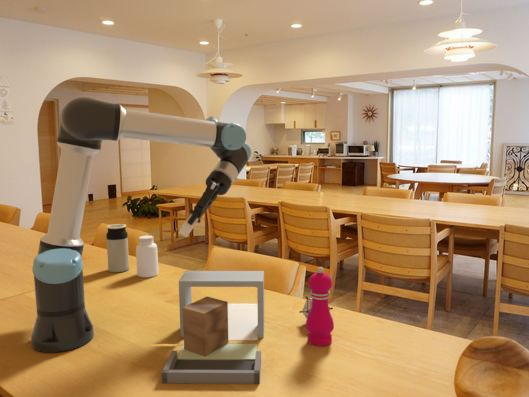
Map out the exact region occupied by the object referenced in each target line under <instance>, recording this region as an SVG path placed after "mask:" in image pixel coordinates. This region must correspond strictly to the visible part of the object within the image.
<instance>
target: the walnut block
mask: <svg viewBox="0 0 529 397" xmlns="http://www.w3.org/2000/svg"><path fill="white" fill-rule="evenodd" d="M183 331H184V337H183V344H184V349H185V350H187V351H190V352H193V353H196V354H199V355H202V356H204V357H206V356H208V355H209V354H211V353H212V352H214V351H216V350H217V349H219V348H220V347H222V346H224V345H225V344H229V340H228V301H226V300H221V299H218V298H215V297H211V296H205V297H202V298H200V299H199V300H198V299H197V300H196V301H194V302H192V303H191V304H189V305H187V306H185V307H183Z"/></svg>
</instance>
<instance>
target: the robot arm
mask: <svg viewBox="0 0 529 397" xmlns="http://www.w3.org/2000/svg"><path fill="white" fill-rule="evenodd" d="M58 127H59V128H58V132H57V139H56V144H57V145H58V147H59V149H60V150H61V151H60V156H59V161H58V162H59V163H58V168H57V169H58V170H57V176H56V180H55V187H54V191H53V199H52V204H51V210H50V216H49V222H48V228H47V233H45V234H44V235H43V236H41V237H40V240H39V244H38V245H39V246H38V250H37V255H36V256H35V257H34V258H33V260H32V261H33V263H32V274H33V279H34V292H35V305H36V306H35V308H36V318H35V322H34V324H33V325H34V327H33V329H32V334H31V339H30V340H31V347H32V349H34V350H35V349H36V350H35V351H37V350H39V351H38V352H40V351H42V352H41V353H61V352H60V351H62V352H66V350H67V351H71V350H75V349H77V347H78V348H79V347H82V346H84V345H86V344H88V343H89V342H91V340H93V338H94V336H95V332H94V331H95V330H94V324H93V323H92V321H91V318H90V316H89V314H88V311H87V310H86V302H85V287H84V285H85V284H84V272H83V270H84V269H83V268H84V262H83V251H84V245H85V242H84V241H83V239H82V238H81V230H82V225H83V219H84V212H85V209H86V208H85V206H86V202H87V196H88V195H87V194H88V190H89V185H90V179H91V178H90V177H91V173H92V168H93V167H92V166H93V161H94V156H95V155H96V154H97V153H99V152H101V148H102V142H103V141H113V142H115V141H116V142H117V141H119V140H121V139H122V138H124V139H131V140H139V141H140V140H141V141H149V142H158V143H160V142H161V143H167V144H168V143H169V144H176V145H177V144H178V145H187V146H195V147H206V148H209V149H210V150H211V151H212V152H213V153H214V154H215V155H216V157H217V158H219V161H218V162H217V164H216V165H215V166H214V168H213V169H212V170H211V172H210V173H209V174H208V176H207V177H206V179H205V186H206V188H205V190H204V192H203V193H202V194H201V197H200V198H199V199H198V201H197V203H196V204H195V206H194V207H193V209H190V210H189V213H190V214H189V215H188V217H187V218H186V220H185V221H184V223H183V224H182V226H181V227H180V228H179V230H178V233H179V234H180V235H182V236H183V237H184V238H188V236H190V233H191V232H192V230H193V229H194V227H195V225H197V223H198V224H200V222H201V219H202V217H203V216H204V214H205V213H206V212H207V211H208V210H209V208H211V205H212V204H213V203H214V202H215V201H216V200H217V198H218V196H224V195H226V194H227V193H228V192H229V190H230V189H231V187H232V185H233V184H234V182H235V181H238V179H239V178H238V176H239V174H240V173H241V172H242V170H243V169H244V168H245V166H246V165H247V164H248V163H249V160H250V158H251V157H252V149H251V147H250V146H249V144H248V143H246V141H247V133H246V129H244V127H243V126H242V125H240V124H239V123H235V122H229V123H227V122H220V121H219V120H218V119H217V118H216V117H214V116H209V117H207V118H206V119H199V118H193V117H192V118H191V117H184V116H178V115H170V114H169V115H168V114H162V113H156V112H147V111H142V110H134V109H125V108H124V107H123V106H122V105H121V104H118V103H112V102H108V101H102V100H99V99H96V98H92V97H88V96H80V97H76V98H73V99H71V100H70V101H69V102H67V103H66V104H65V105H64V106H63V108H62V109H61V112H60V116H59V126H58ZM74 348H75V349H74ZM70 349H71V350H70Z"/></svg>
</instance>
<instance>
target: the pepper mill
mask: <svg viewBox="0 0 529 397" xmlns="http://www.w3.org/2000/svg"><path fill="white" fill-rule="evenodd" d="M324 271H325V269H324V268H323V267H322V266H319V267H317V269H316V272H314V273H313V274H311V275H310V276H309V279H308V287H309V288H310V289H311V290H310V298H312V307H311V310H310V313H309V315H308V317H307V318H306V322H305V328H306V330H307V331H308V332H307V342H308V343H309V344H310V345H312V346H314V347H315V346H317V347H327V346H328V345H331V344H332V342H333V339H332V338H333V336H332V332H333V331H334V329H335V328H334V326H335V322H334V319H333V317H332V314H331V310H330V311H329V307H330V306H329V299H330V297H331V295H330V294H331V292H330V290H331V288H332V287H333V281H332V277H331V276H330V275H329V274H327V273H326V272H324ZM328 306H329V307H328Z"/></svg>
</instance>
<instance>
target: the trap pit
mask: <svg viewBox="0 0 529 397" xmlns="http://www.w3.org/2000/svg"><path fill="white" fill-rule="evenodd" d="M177 358H178V350H171V352H170V354H169V356H168V358H167V360H166V362H165V364H164V367H163V369H162V371H161V384H225V385H226V384H238V385H239V384H241V385H242V384H243V385H244V384H247V385H249V384H250V385H251V384H254V385H258V384H259V385H260V383H261V382H260V380H261V370H262V369H261V366H262V351H261V350H257V351H256V356H255V360H177Z"/></svg>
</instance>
